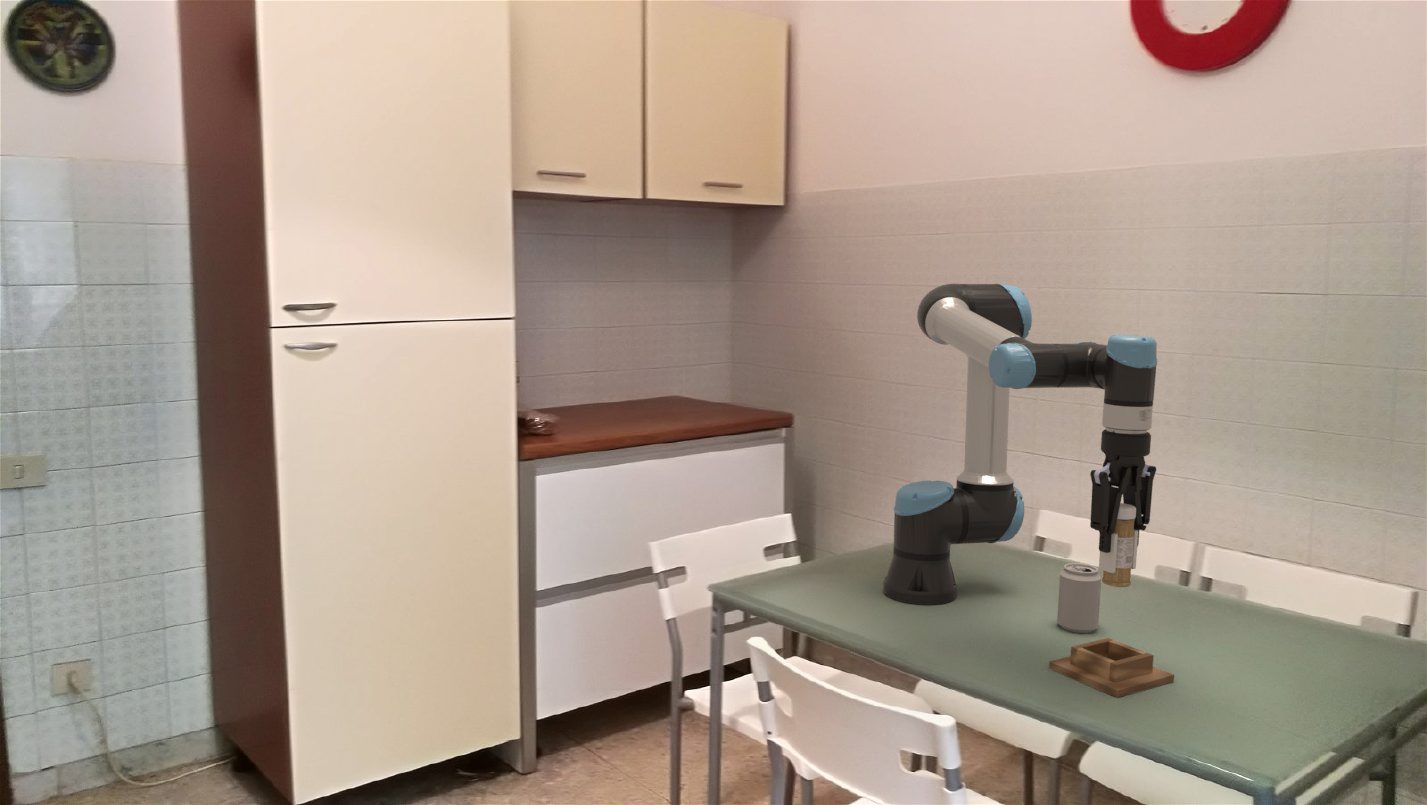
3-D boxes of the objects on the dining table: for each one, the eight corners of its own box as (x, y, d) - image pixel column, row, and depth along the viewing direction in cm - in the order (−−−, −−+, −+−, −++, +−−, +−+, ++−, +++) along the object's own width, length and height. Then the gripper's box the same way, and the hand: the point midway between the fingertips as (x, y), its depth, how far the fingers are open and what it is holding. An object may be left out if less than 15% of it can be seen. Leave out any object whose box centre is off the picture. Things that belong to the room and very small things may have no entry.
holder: (1048, 668, 177) (1050, 644, 176) (1104, 654, 184) (1105, 631, 183) (1117, 697, 165) (1118, 672, 164) (1173, 681, 172) (1175, 657, 171)
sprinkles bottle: (1115, 578, 175) (1120, 501, 173) (1136, 586, 171) (1142, 506, 169) (1095, 582, 173) (1100, 503, 172) (1116, 589, 169) (1122, 509, 167)
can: (1101, 635, 193) (1105, 573, 192) (1059, 632, 195) (1062, 570, 193) (1094, 622, 200) (1098, 562, 199) (1054, 619, 202) (1058, 559, 200)
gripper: (1109, 436, 161) (1100, 581, 164) (1181, 429, 170) (1170, 567, 173) (1071, 430, 168) (1062, 569, 171) (1142, 423, 176) (1132, 556, 179)
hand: (1117, 568), depth 172 cm, fingers closed on sprinkles bottle, 4 cm apart
